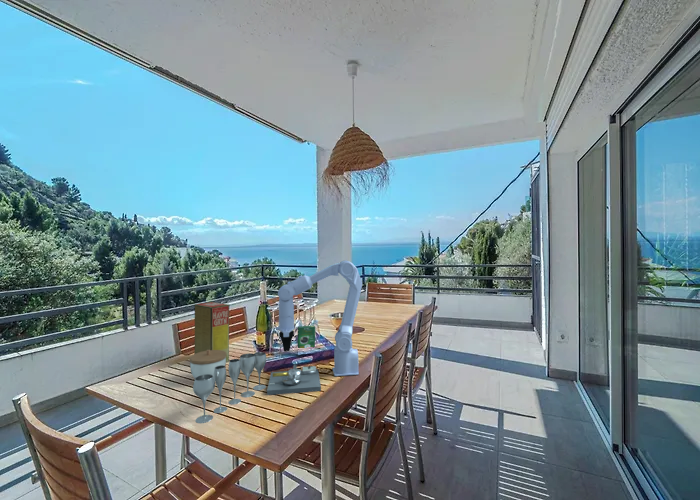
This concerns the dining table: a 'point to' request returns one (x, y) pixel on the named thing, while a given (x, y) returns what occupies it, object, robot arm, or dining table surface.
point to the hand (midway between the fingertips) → (286, 350)
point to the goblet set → (246, 364)
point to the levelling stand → (306, 384)
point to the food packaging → (212, 327)
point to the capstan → (293, 375)
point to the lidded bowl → (206, 362)
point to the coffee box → (306, 336)
